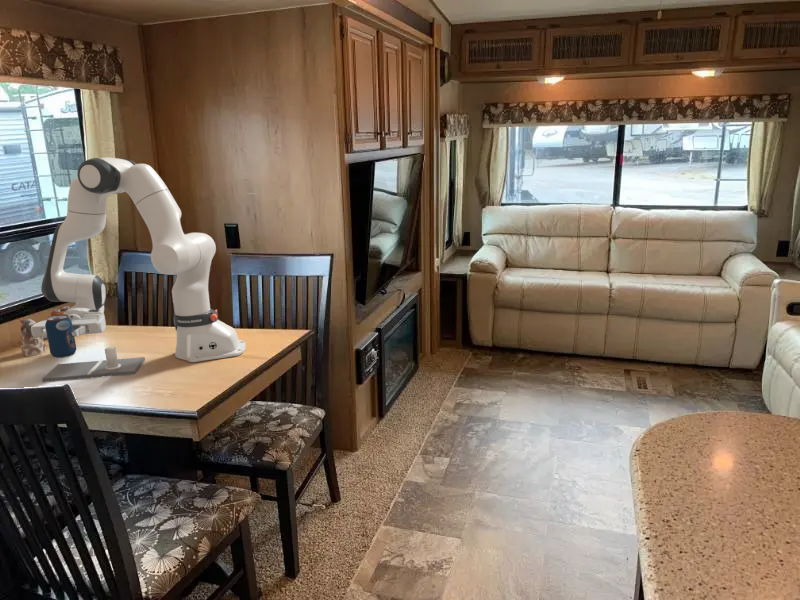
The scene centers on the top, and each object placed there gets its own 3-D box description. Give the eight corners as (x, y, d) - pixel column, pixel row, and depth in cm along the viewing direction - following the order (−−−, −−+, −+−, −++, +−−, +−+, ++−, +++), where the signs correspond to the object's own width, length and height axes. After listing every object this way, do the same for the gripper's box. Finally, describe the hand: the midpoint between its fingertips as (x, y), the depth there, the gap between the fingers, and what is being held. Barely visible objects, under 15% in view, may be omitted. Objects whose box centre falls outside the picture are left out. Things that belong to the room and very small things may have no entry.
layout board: (145, 359, 189) (141, 339, 187) (134, 373, 178) (131, 352, 176) (58, 367, 186) (54, 346, 184) (42, 381, 174) (38, 359, 172)
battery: (79, 332, 221) (74, 306, 218) (61, 337, 215) (56, 311, 213) (72, 330, 223) (67, 305, 221) (54, 335, 218) (49, 309, 215)
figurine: (35, 356, 196) (28, 322, 193) (17, 355, 197) (10, 321, 194) (51, 349, 202) (45, 316, 199) (34, 348, 204) (27, 315, 201)
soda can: (77, 356, 177) (70, 318, 174) (51, 360, 174) (43, 321, 170) (76, 349, 183) (70, 312, 179) (51, 353, 179) (44, 316, 176)
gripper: (40, 314, 186) (19, 327, 173) (108, 309, 189) (93, 322, 176) (43, 332, 188) (23, 347, 175) (111, 328, 191) (96, 342, 178)
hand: (59, 335), depth 175 cm, fingers closed on soda can, 7 cm apart
